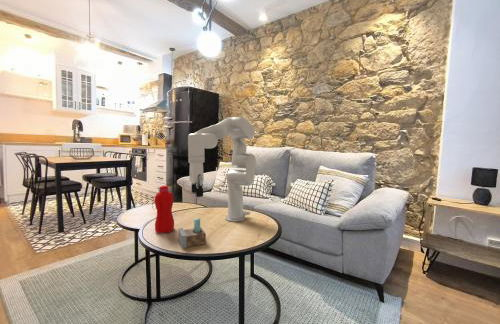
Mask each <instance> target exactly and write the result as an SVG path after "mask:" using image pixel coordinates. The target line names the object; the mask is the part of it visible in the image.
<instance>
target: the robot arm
mask: <svg viewBox="0 0 500 324" xmlns="http://www.w3.org/2000/svg"><path fill="white" fill-rule="evenodd" d="M255 135H256V131H255V126H254V125H253V124H252V123H250V122H249V120H247V118H245V117H243V116H229V117H226V118H224V119H223V120H220V121H219V122H218V123H216V124H213V125H210V126H207V127H204V128H201V129H199V130H197V131H195V132H194V133H189V134H188V136H187V150H188V152H187V153H188V155H187V157H188V164H189V182H190V183H191V193H193V194H194V193H195V197H196V198H202V197H204V164H203V163H205V159H206V158H205V149H214V148H216V146H217V145H218V143H219V140H221V139H225V138H226V137H228V136H229V137H230V139H231V141H232V145H233V147H232V149H233V150H232V155H231V166H232V167H233V168H236V169H230V170H229V171H227V173H226V183H227V215H226V216H225V221H228V222H235V223H237V222H242V221H245V220H246V216H249V215H250V214H251V213H250V211H247V210H246V211H244V191H243V187H242V186H244V187H246V186H247V187H250V186H252V185H253V183H254V181H255V174H256V167H257V159H256V156H255V154H252V153H247V147H248V146H247V144H246V142H245V141H244V139H245V140H246V139H253V138H254V136H255ZM242 169H243V170H242ZM244 169H245V170H244Z"/></svg>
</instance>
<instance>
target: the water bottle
mask: <svg viewBox="0 0 500 324" xmlns="http://www.w3.org/2000/svg"><path fill="white" fill-rule="evenodd" d="M174 200H175V199H174V195H173V193H172V192H171V191H169V186H168V185H161V186H160V187H159V189H158V192H157V193H156V194H155V195H154V198H153V200H152V202H153V203H152V205H151V206H152V209H153V210H155V209H156V217H155V223H154V230H155V232H156V233H158V234H163V233H164V234H165V233H166V234H168V233H171V232H172V231H173V230H174V228H175V220H174V215H173V212H172V210H173V204H174ZM153 205H155V208H154V206H153Z"/></svg>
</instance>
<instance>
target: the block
mask: <svg viewBox="0 0 500 324" xmlns="http://www.w3.org/2000/svg"><path fill="white" fill-rule="evenodd" d="M183 230H184V232H185V234H186V237H187V248H189V247H193V246H199V245H204V244H207V243H206V242H207V239H206V238H207V236H206V235H207V234H206V231H205V230H204V229H203V228H202V227H201V226H200V232H199V233H194V227H193V228H189V229H188V228H187V229H186V228H185V229H183Z"/></svg>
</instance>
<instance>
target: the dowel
mask: <svg viewBox="0 0 500 324" xmlns="http://www.w3.org/2000/svg"><path fill="white" fill-rule="evenodd" d="M200 227H201V218H199V217H196V218H194V219H193V228H194V233H199V232H200Z"/></svg>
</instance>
